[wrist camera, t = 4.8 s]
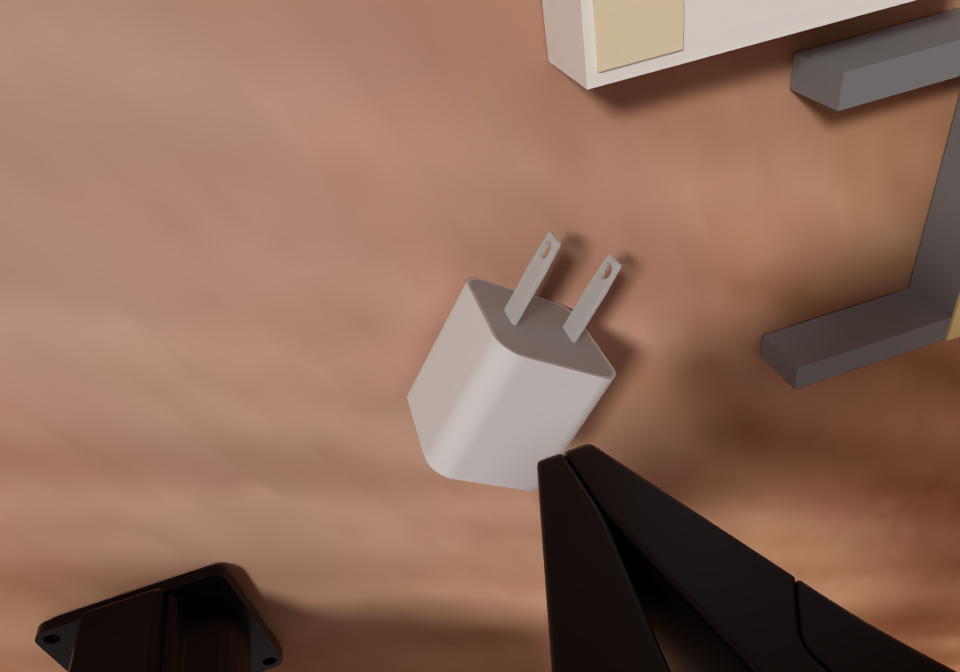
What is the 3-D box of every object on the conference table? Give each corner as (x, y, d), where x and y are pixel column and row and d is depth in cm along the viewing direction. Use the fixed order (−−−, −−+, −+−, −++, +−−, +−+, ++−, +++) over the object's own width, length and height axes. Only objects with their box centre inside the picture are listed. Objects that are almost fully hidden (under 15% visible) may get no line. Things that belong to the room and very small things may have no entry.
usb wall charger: (403, 384, 22) (429, 475, 19) (501, 194, 19) (551, 262, 16) (508, 407, 24) (548, 493, 21) (612, 237, 21) (677, 306, 18)
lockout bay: (925, 301, 26) (971, 332, 25) (760, 356, 26) (796, 391, 24) (1015, -8, 20) (1085, 5, 18) (794, 53, 19) (846, 73, 17)
